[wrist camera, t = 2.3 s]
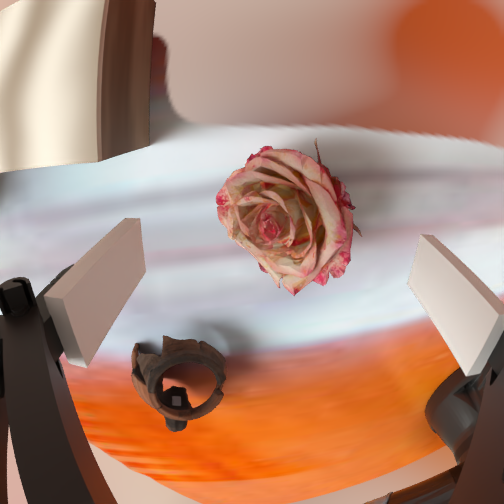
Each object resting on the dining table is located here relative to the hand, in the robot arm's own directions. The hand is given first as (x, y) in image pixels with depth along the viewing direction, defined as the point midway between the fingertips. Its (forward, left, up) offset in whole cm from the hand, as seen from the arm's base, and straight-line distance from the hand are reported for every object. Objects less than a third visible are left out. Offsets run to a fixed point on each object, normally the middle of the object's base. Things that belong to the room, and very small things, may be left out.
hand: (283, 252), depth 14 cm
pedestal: (+16, -10, -10) cm, 21 cm away
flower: (0, 0, -11) cm, 11 cm away
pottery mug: (+9, +18, -11) cm, 23 cm away
